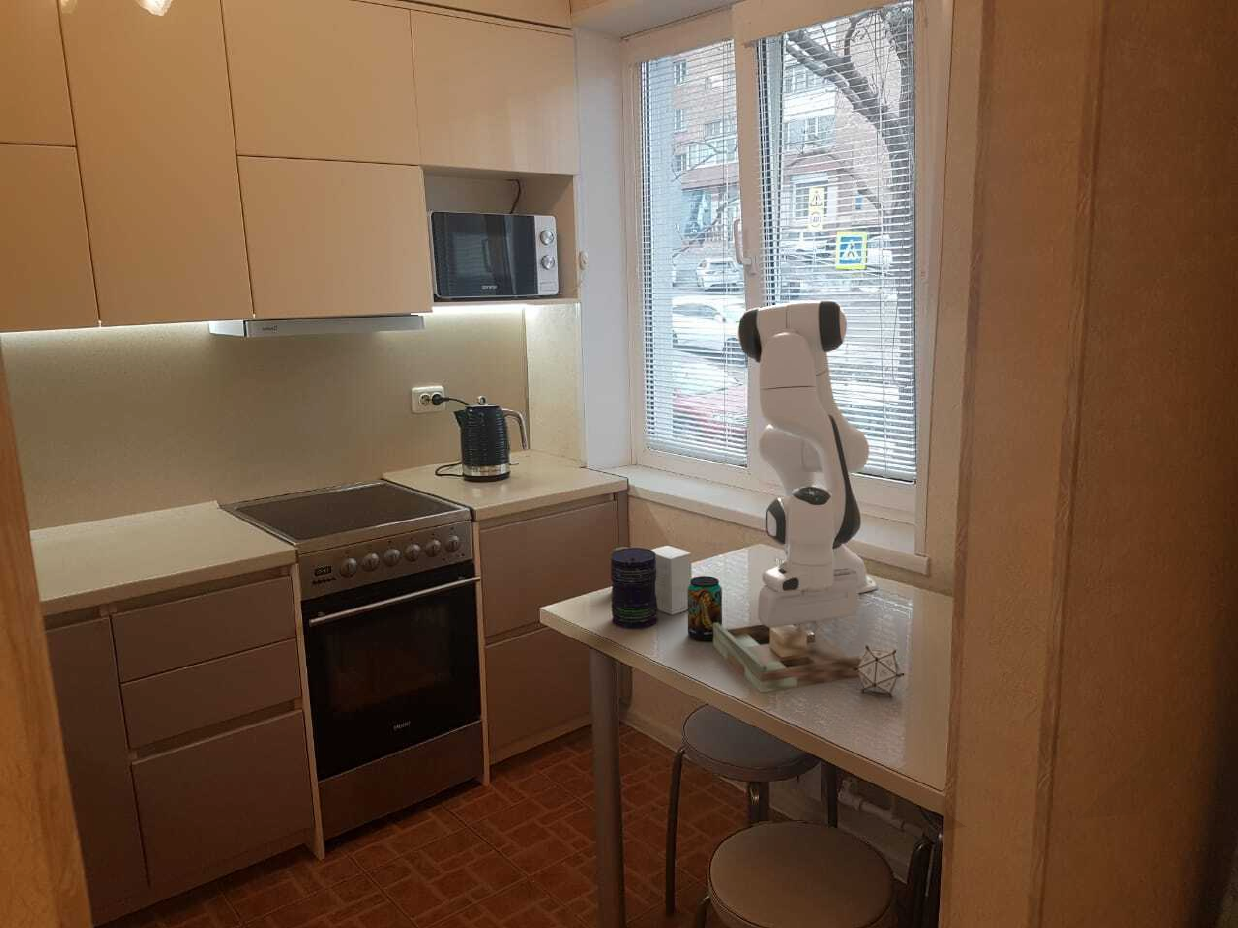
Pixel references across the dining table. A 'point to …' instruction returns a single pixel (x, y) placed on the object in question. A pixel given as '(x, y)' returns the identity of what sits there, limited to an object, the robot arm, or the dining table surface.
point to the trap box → (780, 659)
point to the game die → (878, 671)
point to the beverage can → (704, 607)
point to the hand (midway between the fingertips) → (808, 641)
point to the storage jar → (634, 588)
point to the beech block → (787, 640)
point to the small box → (672, 579)
